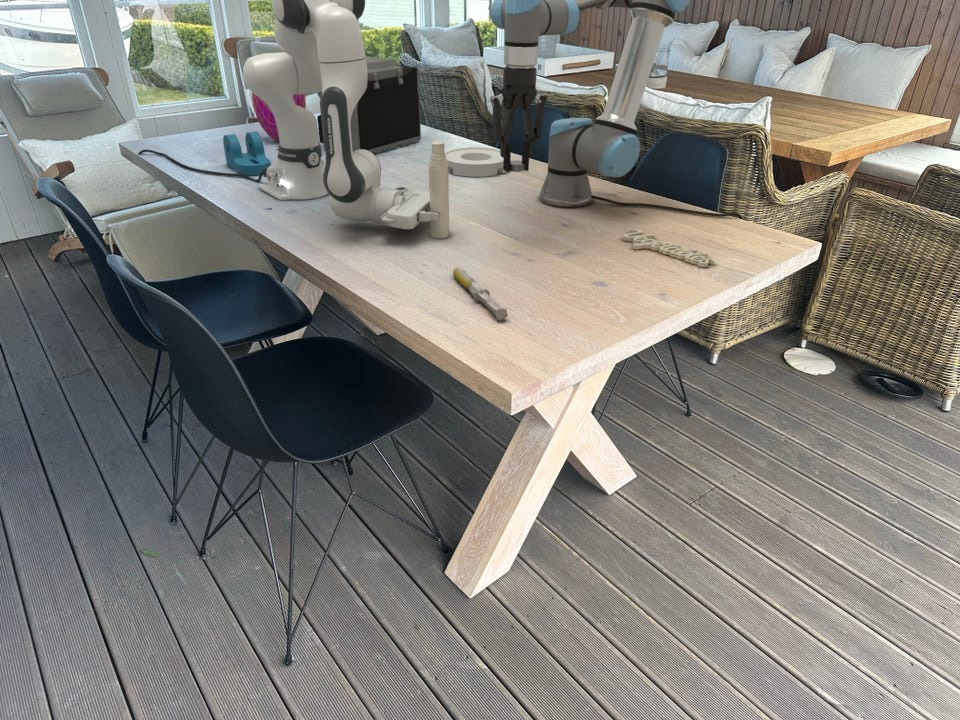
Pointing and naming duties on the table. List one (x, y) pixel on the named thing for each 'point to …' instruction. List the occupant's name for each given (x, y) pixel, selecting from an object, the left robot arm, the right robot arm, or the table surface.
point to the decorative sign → (667, 248)
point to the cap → (517, 166)
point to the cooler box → (384, 108)
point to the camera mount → (246, 154)
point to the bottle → (439, 190)
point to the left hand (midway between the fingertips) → (442, 212)
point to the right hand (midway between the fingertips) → (515, 169)
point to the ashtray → (474, 161)
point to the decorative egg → (267, 116)
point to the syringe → (479, 293)
